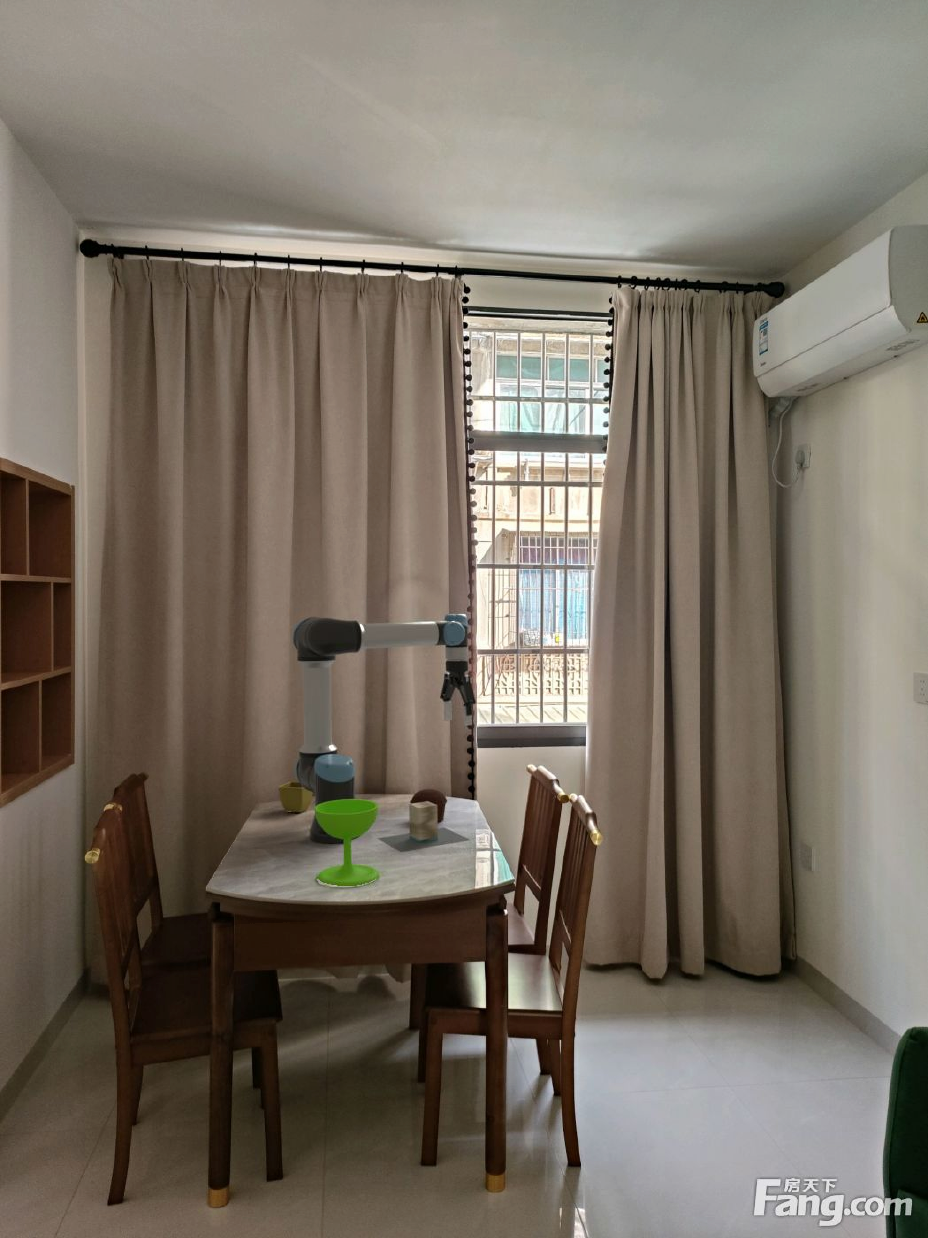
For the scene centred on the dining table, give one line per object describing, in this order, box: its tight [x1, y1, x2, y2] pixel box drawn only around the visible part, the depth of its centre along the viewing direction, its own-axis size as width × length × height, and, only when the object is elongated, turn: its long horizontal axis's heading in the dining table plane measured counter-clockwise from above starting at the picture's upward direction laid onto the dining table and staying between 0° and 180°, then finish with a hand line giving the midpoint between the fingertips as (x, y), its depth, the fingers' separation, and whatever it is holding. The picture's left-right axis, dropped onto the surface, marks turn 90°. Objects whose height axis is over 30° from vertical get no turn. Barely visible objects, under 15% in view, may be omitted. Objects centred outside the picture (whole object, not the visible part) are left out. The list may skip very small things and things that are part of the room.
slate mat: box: [377, 827, 471, 853], centre depth 249 cm, size 22×16×1 cm
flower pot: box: [277, 781, 314, 813], centre depth 286 cm, size 9×9×9 cm
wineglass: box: [314, 798, 380, 886], centre depth 217 cm, size 16×16×18 cm
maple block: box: [408, 801, 439, 843], centre depth 249 cm, size 6×6×10 cm
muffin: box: [409, 788, 448, 824], centre depth 270 cm, size 12×11×10 cm
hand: (457, 722), depth 290 cm, fingers open, 13 cm apart
